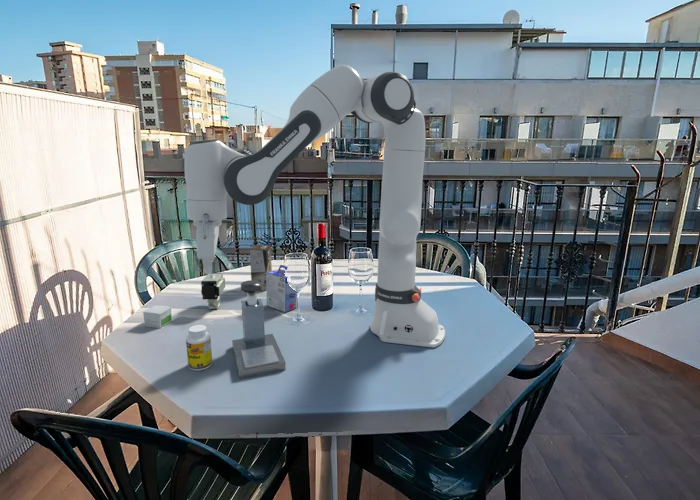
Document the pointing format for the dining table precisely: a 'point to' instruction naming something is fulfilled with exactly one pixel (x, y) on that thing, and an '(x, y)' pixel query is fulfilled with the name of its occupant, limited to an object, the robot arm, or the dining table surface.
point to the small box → (157, 316)
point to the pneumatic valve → (213, 289)
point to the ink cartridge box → (279, 291)
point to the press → (256, 345)
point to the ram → (251, 290)
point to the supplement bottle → (198, 348)
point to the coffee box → (260, 263)
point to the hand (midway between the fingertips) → (209, 266)
